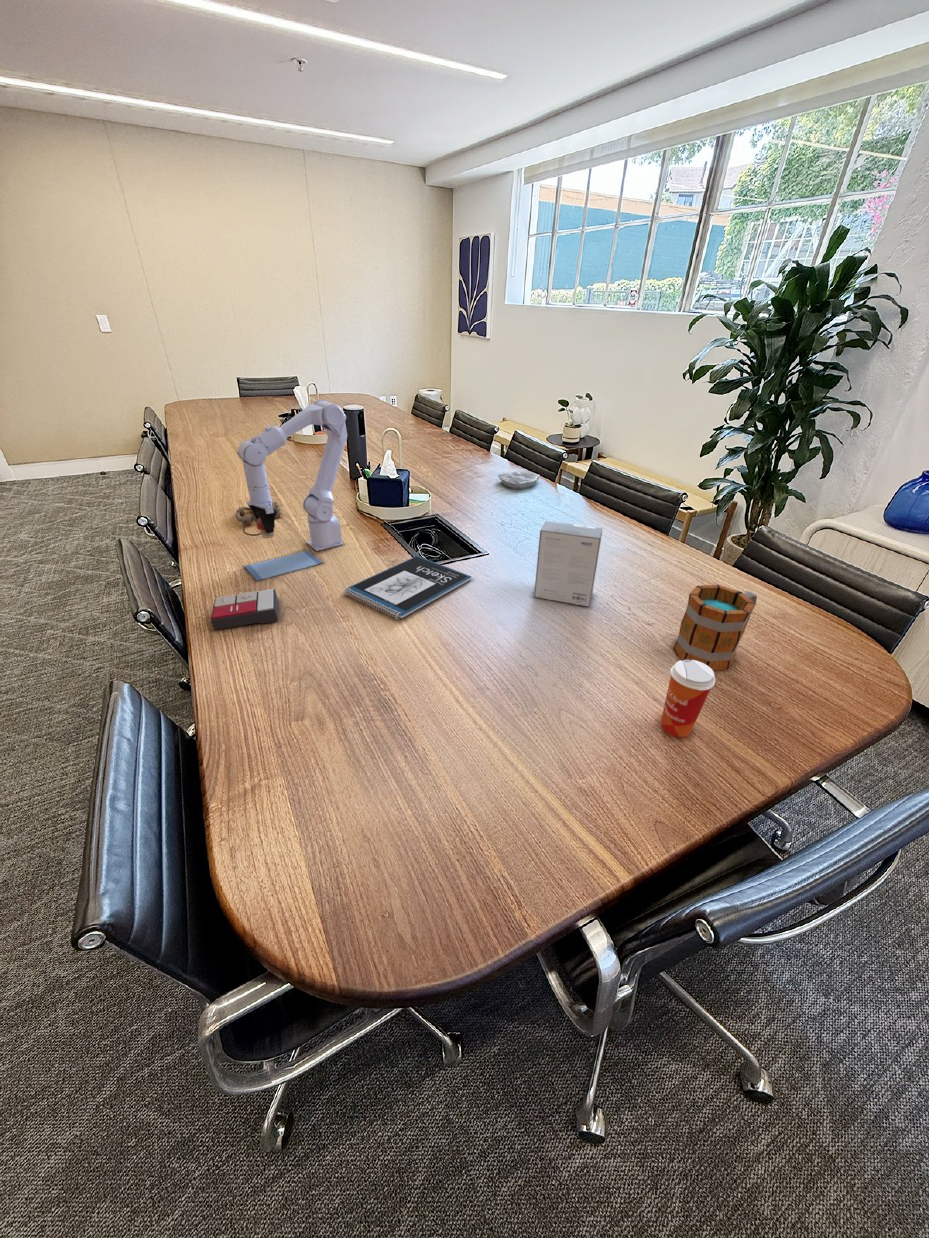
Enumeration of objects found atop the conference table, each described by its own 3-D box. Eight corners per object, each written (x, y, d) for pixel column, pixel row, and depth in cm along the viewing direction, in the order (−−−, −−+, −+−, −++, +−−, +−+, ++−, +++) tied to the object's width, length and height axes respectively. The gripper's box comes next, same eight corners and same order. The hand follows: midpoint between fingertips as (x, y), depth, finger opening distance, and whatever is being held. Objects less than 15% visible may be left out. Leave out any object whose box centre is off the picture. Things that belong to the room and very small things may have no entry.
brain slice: (512, 475, 239) (512, 468, 237) (544, 482, 231) (545, 475, 229) (489, 485, 225) (489, 478, 224) (522, 493, 217) (523, 486, 215)
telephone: (239, 540, 169) (236, 528, 167) (235, 508, 195) (233, 497, 192) (286, 536, 174) (285, 524, 172) (276, 505, 200) (275, 494, 198)
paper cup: (648, 714, 102) (665, 658, 95) (685, 712, 103) (704, 656, 96) (665, 743, 96) (683, 685, 88) (704, 741, 96) (726, 683, 89)
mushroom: (273, 531, 159) (269, 511, 155) (279, 537, 155) (275, 516, 152) (256, 535, 156) (252, 514, 152) (262, 541, 152) (257, 520, 149)
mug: (707, 678, 113) (728, 620, 105) (660, 646, 122) (675, 592, 114) (763, 654, 121) (786, 599, 113) (715, 626, 131) (733, 574, 123)
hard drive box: (592, 594, 143) (604, 528, 133) (589, 607, 137) (601, 538, 127) (538, 585, 148) (545, 519, 137) (532, 597, 141) (539, 529, 131)
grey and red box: (213, 596, 131) (274, 586, 135) (218, 610, 133) (278, 600, 137) (209, 618, 122) (274, 606, 126) (214, 632, 125) (278, 621, 128)
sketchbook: (471, 580, 150) (471, 574, 148) (398, 622, 129) (398, 615, 128) (417, 559, 161) (417, 553, 160) (342, 594, 140) (341, 588, 139)
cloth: (308, 551, 164) (308, 550, 164) (322, 563, 157) (322, 562, 156) (244, 567, 154) (244, 566, 153) (256, 581, 146) (256, 580, 146)
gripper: (236, 481, 150) (245, 524, 157) (251, 494, 140) (261, 540, 147) (260, 477, 153) (268, 519, 161) (277, 490, 144) (285, 534, 151)
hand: (266, 529), depth 154 cm, fingers closed on mushroom, 5 cm apart
